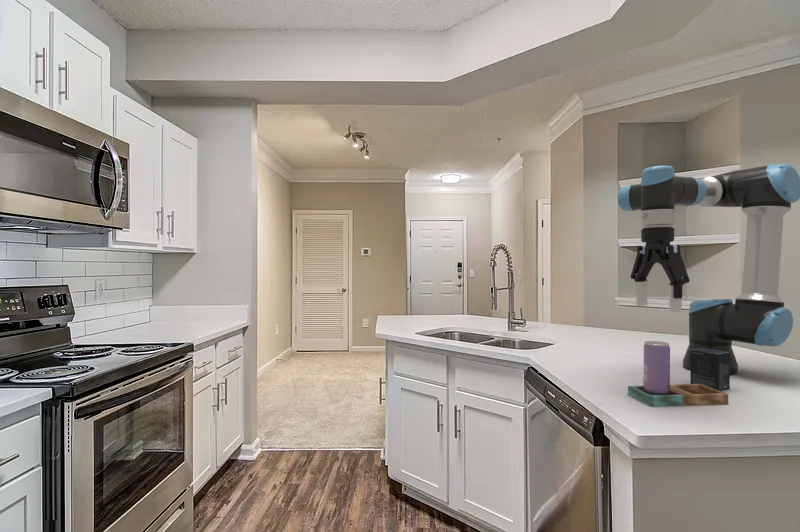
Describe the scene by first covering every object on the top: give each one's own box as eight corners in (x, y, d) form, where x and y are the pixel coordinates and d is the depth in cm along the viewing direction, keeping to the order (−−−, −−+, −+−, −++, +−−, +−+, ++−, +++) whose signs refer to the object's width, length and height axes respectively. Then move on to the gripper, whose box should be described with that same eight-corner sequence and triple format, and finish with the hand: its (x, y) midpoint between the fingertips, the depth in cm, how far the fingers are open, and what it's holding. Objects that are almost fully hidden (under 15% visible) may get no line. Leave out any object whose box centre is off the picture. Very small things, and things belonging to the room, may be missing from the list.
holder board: (700, 392, 125) (700, 383, 125) (728, 404, 115) (728, 394, 115) (627, 395, 123) (627, 385, 123) (649, 406, 114) (649, 396, 114)
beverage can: (673, 404, 115) (673, 345, 115) (647, 403, 117) (647, 344, 116) (665, 397, 121) (665, 341, 121) (640, 396, 122) (640, 340, 122)
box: (730, 389, 128) (730, 351, 128) (718, 392, 126) (718, 353, 126) (701, 382, 135) (701, 346, 135) (689, 384, 133) (689, 348, 133)
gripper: (617, 229, 131) (617, 303, 131) (676, 223, 106) (676, 315, 107) (642, 229, 131) (642, 303, 132) (707, 223, 107) (706, 314, 107)
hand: (657, 308), depth 119 cm, fingers open, 13 cm apart
